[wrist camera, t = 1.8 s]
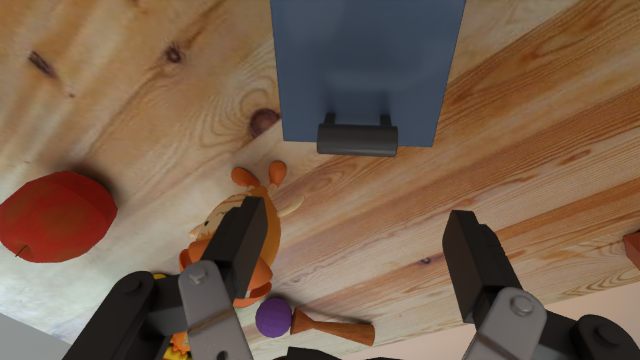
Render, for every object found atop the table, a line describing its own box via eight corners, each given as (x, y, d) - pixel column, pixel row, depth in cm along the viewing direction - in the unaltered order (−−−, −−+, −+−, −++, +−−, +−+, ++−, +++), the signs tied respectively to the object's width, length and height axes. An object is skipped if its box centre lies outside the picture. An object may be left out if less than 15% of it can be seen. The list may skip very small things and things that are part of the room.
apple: (137, 184, 39) (67, 252, 30) (124, 227, 45) (61, 296, 35) (56, 144, 37) (-47, 205, 28) (53, 195, 42) (-34, 260, 33)
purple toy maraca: (364, 358, 52) (249, 338, 49) (364, 322, 56) (258, 301, 53) (378, 351, 47) (253, 328, 44) (377, 312, 51) (262, 289, 48)
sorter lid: (430, 142, 23) (445, 181, 19) (285, 136, 25) (269, 171, 20) (488, -113, 15) (536, -143, 11) (263, -103, 16) (228, -126, 12)
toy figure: (302, 148, 33) (267, 254, 21) (319, 203, 37) (299, 316, 25) (208, 163, 36) (130, 265, 24) (234, 212, 40) (179, 319, 28)
